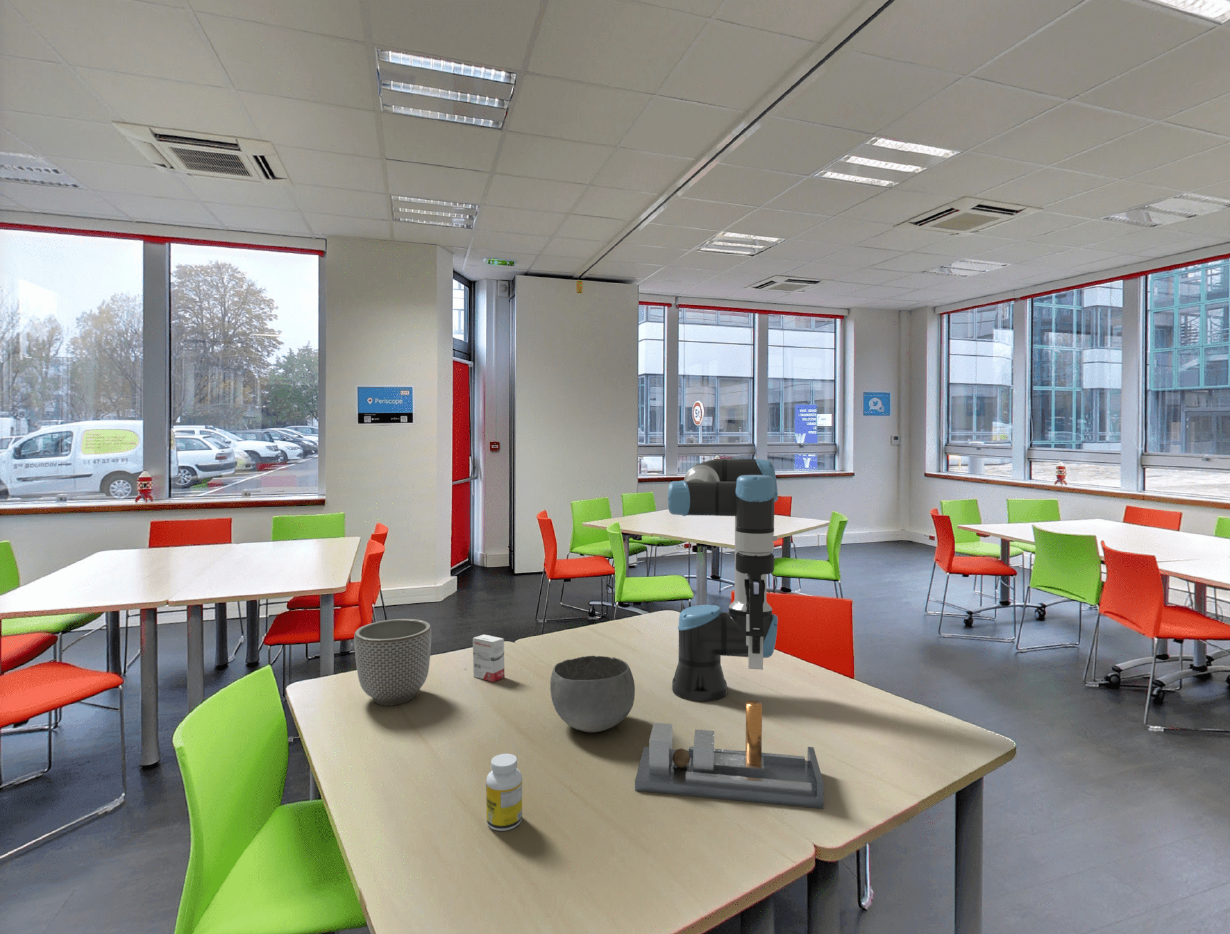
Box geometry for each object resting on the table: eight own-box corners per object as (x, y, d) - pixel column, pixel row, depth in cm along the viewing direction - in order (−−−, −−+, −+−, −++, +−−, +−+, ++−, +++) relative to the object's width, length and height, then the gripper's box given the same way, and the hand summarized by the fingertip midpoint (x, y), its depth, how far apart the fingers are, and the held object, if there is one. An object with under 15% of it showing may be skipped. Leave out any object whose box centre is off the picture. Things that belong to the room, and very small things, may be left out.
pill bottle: (488, 812, 117) (488, 751, 117) (523, 810, 118) (523, 750, 117) (484, 834, 111) (483, 769, 110) (521, 831, 111) (520, 768, 111)
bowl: (647, 717, 158) (647, 658, 157) (613, 753, 139) (613, 687, 138) (576, 702, 166) (575, 647, 166) (534, 735, 148) (534, 673, 147)
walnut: (668, 766, 130) (668, 749, 130) (681, 760, 132) (681, 743, 132) (681, 773, 127) (681, 755, 127) (693, 767, 129) (693, 750, 129)
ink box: (505, 677, 184) (505, 638, 184) (494, 682, 180) (493, 642, 180) (484, 671, 189) (483, 633, 188) (472, 676, 185) (471, 637, 184)
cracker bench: (634, 790, 124) (634, 746, 124) (644, 755, 138) (644, 715, 138) (823, 808, 118) (823, 762, 118) (813, 770, 132) (813, 728, 131)
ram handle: (693, 775, 125) (693, 707, 125) (695, 757, 133) (695, 692, 132) (764, 782, 123) (765, 712, 122) (762, 763, 130) (763, 697, 130)
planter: (338, 706, 164) (337, 635, 163) (391, 680, 182) (390, 615, 182) (398, 718, 157) (396, 643, 156) (447, 689, 175) (446, 622, 174)
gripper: (779, 565, 112) (778, 681, 113) (769, 542, 137) (769, 637, 138) (736, 564, 114) (736, 678, 115) (735, 541, 138) (734, 635, 139)
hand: (754, 656), depth 126 cm, fingers open, 13 cm apart
